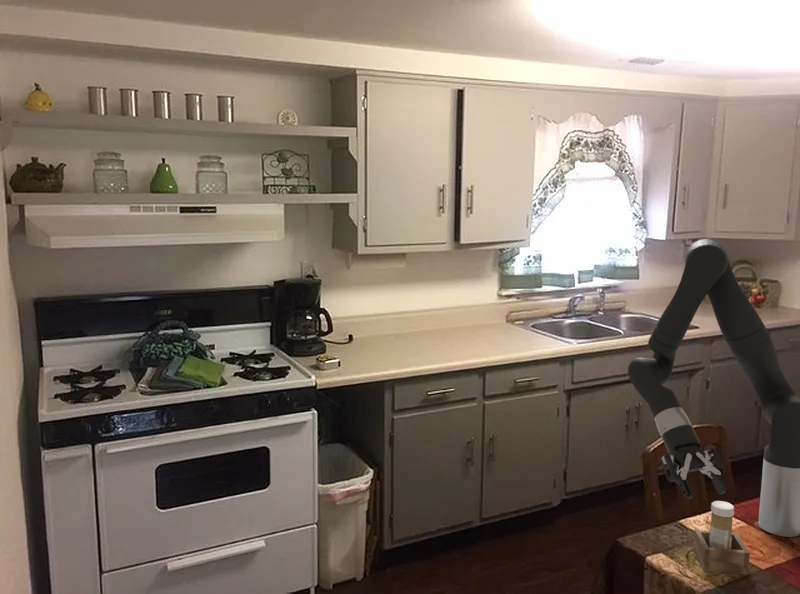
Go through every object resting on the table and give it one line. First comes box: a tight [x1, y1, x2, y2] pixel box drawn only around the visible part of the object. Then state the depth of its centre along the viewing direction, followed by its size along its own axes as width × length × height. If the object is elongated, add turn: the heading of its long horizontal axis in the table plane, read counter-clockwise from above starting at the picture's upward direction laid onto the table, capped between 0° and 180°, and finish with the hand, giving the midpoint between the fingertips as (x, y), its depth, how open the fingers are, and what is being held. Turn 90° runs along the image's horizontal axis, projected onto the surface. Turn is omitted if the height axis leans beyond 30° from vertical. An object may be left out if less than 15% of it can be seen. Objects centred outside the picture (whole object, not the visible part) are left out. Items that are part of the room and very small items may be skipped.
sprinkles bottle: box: [709, 500, 735, 549], centre depth 150 cm, size 5×5×13 cm
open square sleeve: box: [692, 529, 751, 576], centre depth 150 cm, size 9×9×5 cm
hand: (707, 495), depth 154 cm, fingers open, 8 cm apart
